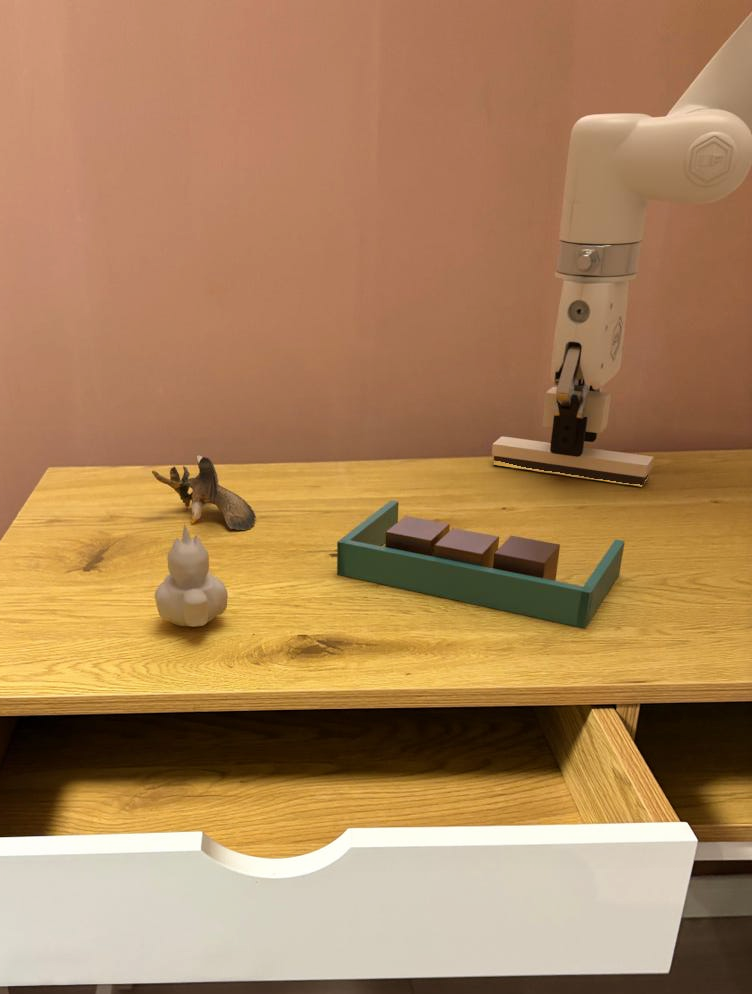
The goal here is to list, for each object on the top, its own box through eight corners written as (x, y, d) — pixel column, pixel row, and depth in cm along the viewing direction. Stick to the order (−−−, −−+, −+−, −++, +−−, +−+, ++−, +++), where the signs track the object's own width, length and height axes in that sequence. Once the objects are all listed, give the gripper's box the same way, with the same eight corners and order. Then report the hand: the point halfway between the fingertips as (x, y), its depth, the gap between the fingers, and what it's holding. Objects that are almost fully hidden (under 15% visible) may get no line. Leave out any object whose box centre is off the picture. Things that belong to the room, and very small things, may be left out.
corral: (619, 574, 81) (625, 540, 79) (585, 628, 73) (590, 592, 71) (389, 530, 90) (390, 500, 89) (336, 574, 82) (337, 541, 81)
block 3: (554, 590, 78) (560, 544, 76) (539, 609, 75) (544, 562, 73) (506, 580, 80) (511, 535, 78) (489, 599, 77) (494, 553, 75)
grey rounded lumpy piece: (220, 602, 78) (215, 508, 74) (236, 640, 72) (231, 541, 68) (153, 610, 77) (144, 515, 73) (163, 650, 71) (154, 549, 67)
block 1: (446, 567, 83) (449, 523, 81) (428, 585, 80) (431, 540, 78) (403, 558, 84) (405, 515, 83) (384, 576, 81) (385, 531, 80)
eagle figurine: (141, 512, 92) (207, 516, 87) (158, 440, 93) (225, 439, 87) (196, 533, 98) (262, 538, 92) (212, 465, 99) (278, 466, 93)
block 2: (495, 581, 80) (499, 536, 78) (478, 600, 77) (482, 554, 75) (449, 571, 82) (452, 527, 80) (431, 590, 79) (434, 544, 77)
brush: (649, 480, 100) (663, 397, 96) (643, 489, 98) (657, 405, 94) (499, 458, 107) (506, 381, 103) (490, 466, 105) (497, 387, 101)
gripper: (616, 276, 84) (588, 476, 93) (656, 251, 97) (628, 430, 106) (531, 271, 88) (512, 465, 97) (581, 248, 101) (560, 421, 109)
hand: (573, 445), depth 101 cm, fingers open, 4 cm apart
